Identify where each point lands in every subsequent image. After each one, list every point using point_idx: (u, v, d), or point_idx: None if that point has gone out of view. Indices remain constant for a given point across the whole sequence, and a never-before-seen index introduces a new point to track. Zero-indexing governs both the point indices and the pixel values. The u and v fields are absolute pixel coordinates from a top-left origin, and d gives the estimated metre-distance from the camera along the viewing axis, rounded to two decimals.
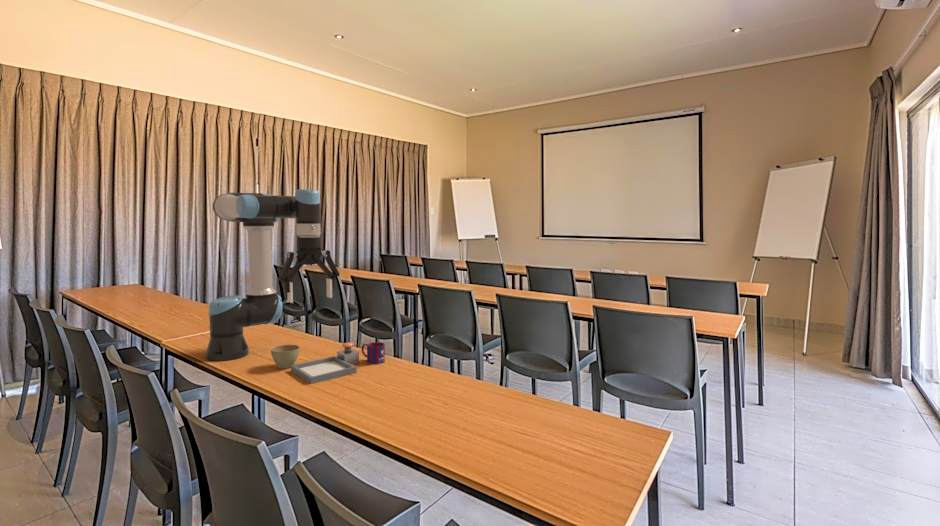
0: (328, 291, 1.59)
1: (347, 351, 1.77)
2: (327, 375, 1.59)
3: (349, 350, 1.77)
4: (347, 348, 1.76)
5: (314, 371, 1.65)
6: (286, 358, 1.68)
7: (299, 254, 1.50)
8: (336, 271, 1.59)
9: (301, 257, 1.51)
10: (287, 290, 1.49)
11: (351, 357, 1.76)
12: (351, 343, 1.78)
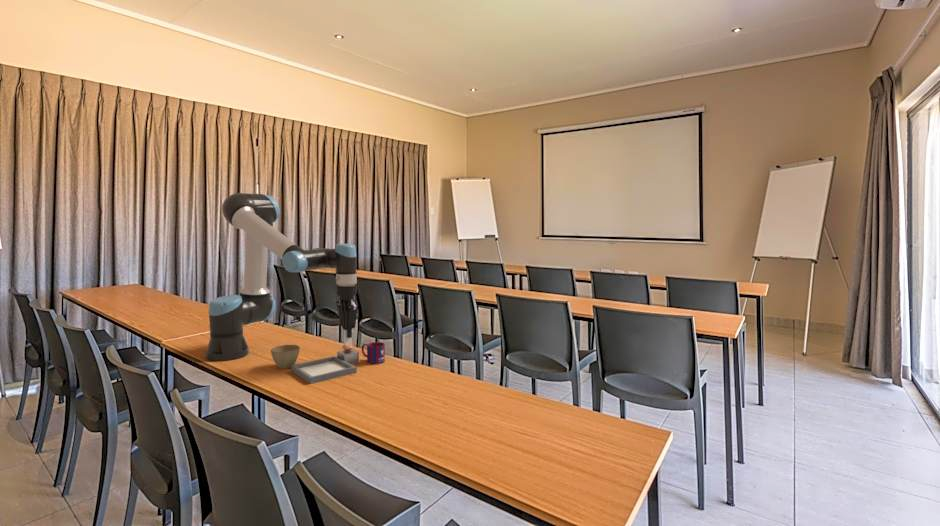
0: None
1: None
2: (327, 375, 1.59)
3: (349, 352, 1.77)
4: (347, 350, 1.77)
5: (314, 371, 1.65)
6: (286, 358, 1.68)
7: None
8: (348, 324, 1.73)
9: None
10: None
11: (351, 357, 1.76)
12: (351, 345, 1.78)
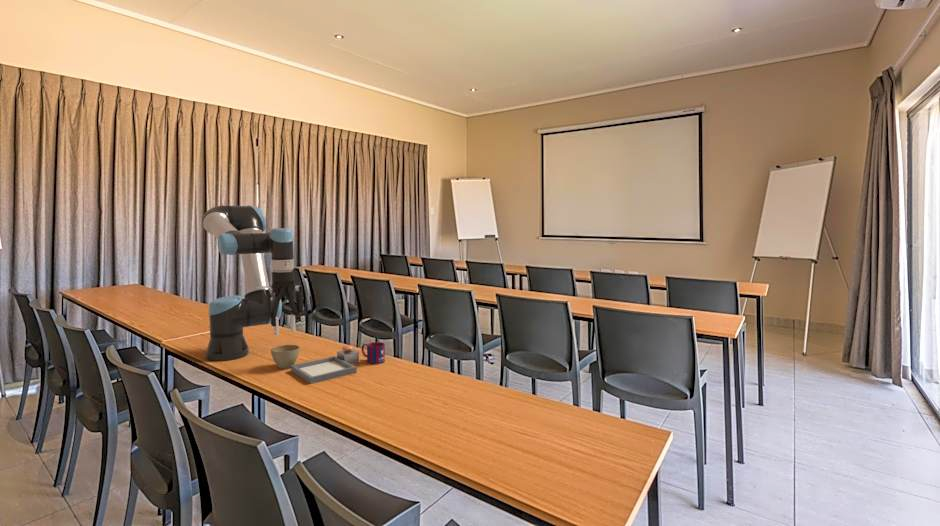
0: (292, 326, 1.72)
1: None
2: (327, 375, 1.59)
3: None
4: (347, 351, 1.77)
5: (314, 371, 1.65)
6: (286, 358, 1.67)
7: (274, 287, 1.66)
8: (300, 307, 1.73)
9: (275, 290, 1.66)
10: (273, 324, 1.67)
11: (351, 357, 1.76)
12: (351, 346, 1.78)
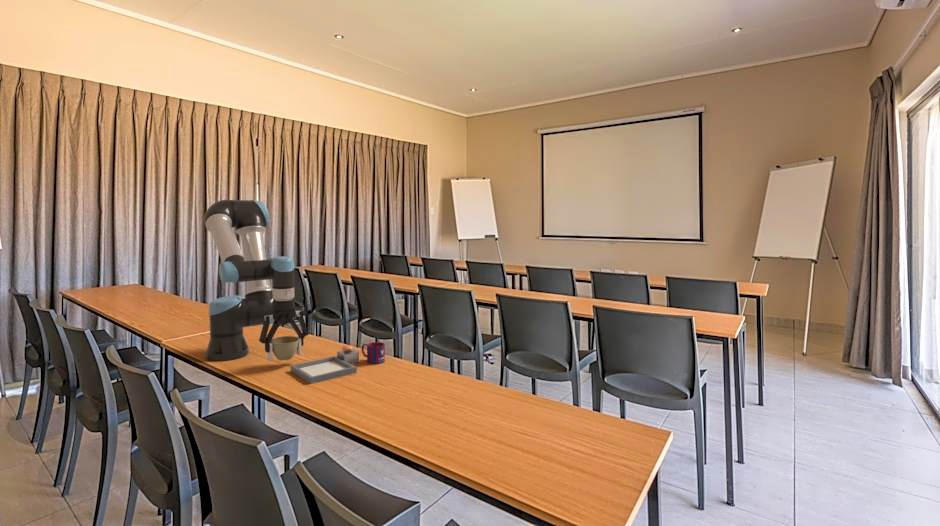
0: (298, 349, 1.75)
1: None
2: (327, 375, 1.59)
3: None
4: (347, 351, 1.77)
5: (314, 371, 1.65)
6: (286, 350, 1.68)
7: (274, 316, 1.67)
8: (306, 331, 1.75)
9: (276, 318, 1.67)
10: (267, 350, 1.67)
11: (351, 357, 1.76)
12: (351, 346, 1.78)
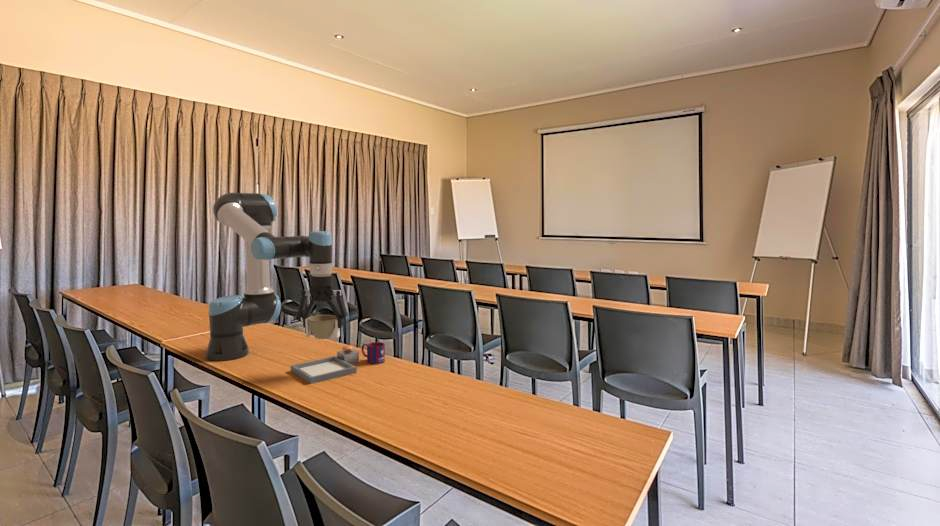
0: None
1: None
2: (327, 375, 1.59)
3: None
4: (347, 351, 1.77)
5: (314, 371, 1.65)
6: (314, 327, 1.61)
7: (310, 291, 1.63)
8: (342, 312, 1.63)
9: (312, 294, 1.63)
10: (304, 325, 1.64)
11: (351, 357, 1.76)
12: (351, 346, 1.78)
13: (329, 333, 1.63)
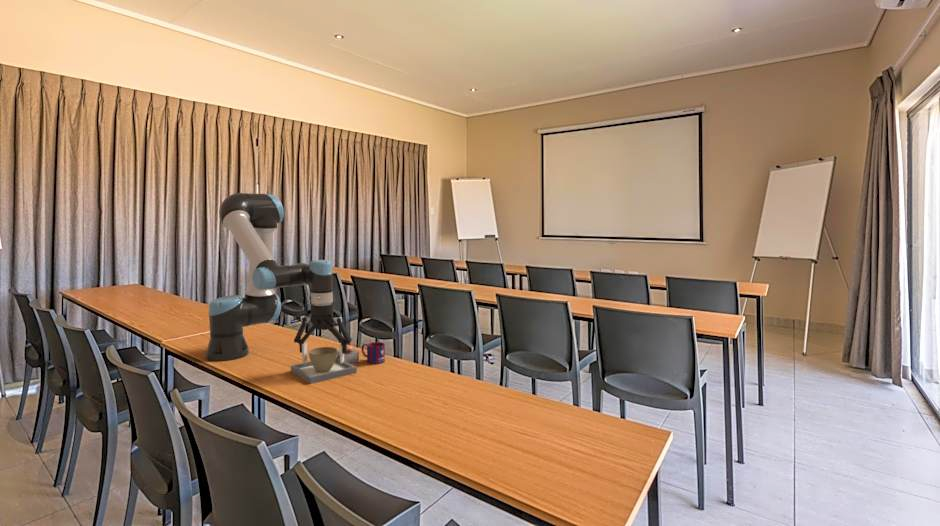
0: None
1: None
2: (327, 375, 1.59)
3: None
4: (347, 351, 1.77)
5: (314, 371, 1.65)
6: (315, 361, 1.62)
7: (311, 319, 1.64)
8: (346, 338, 1.64)
9: (312, 322, 1.64)
10: (300, 350, 1.66)
11: (351, 357, 1.76)
12: (351, 346, 1.78)
13: (330, 366, 1.65)
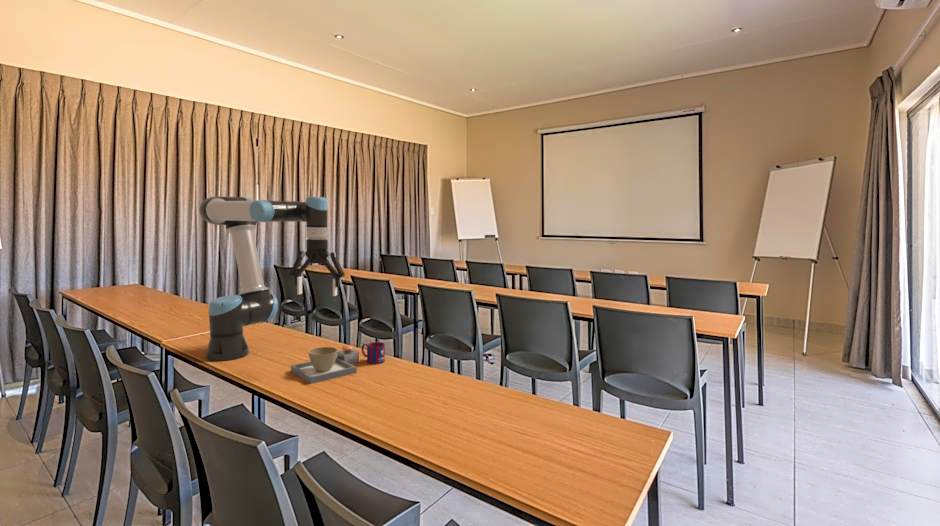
0: None
1: None
2: (327, 375, 1.59)
3: None
4: (347, 351, 1.77)
5: (314, 371, 1.65)
6: (315, 361, 1.62)
7: (306, 253, 1.72)
8: (339, 272, 1.72)
9: (307, 256, 1.72)
10: (296, 283, 1.74)
11: (351, 357, 1.76)
12: (351, 346, 1.78)
13: (330, 366, 1.65)
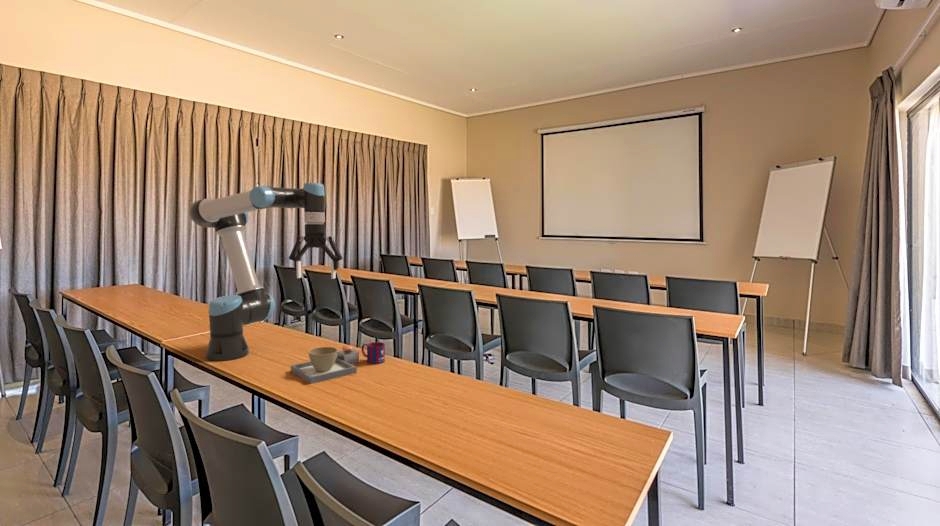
0: None
1: None
2: (327, 375, 1.59)
3: None
4: (347, 351, 1.77)
5: (314, 371, 1.65)
6: (315, 361, 1.62)
7: (304, 238, 1.78)
8: (337, 255, 1.78)
9: (306, 241, 1.78)
10: (295, 267, 1.79)
11: (351, 357, 1.76)
12: (351, 346, 1.78)
13: (330, 366, 1.65)
